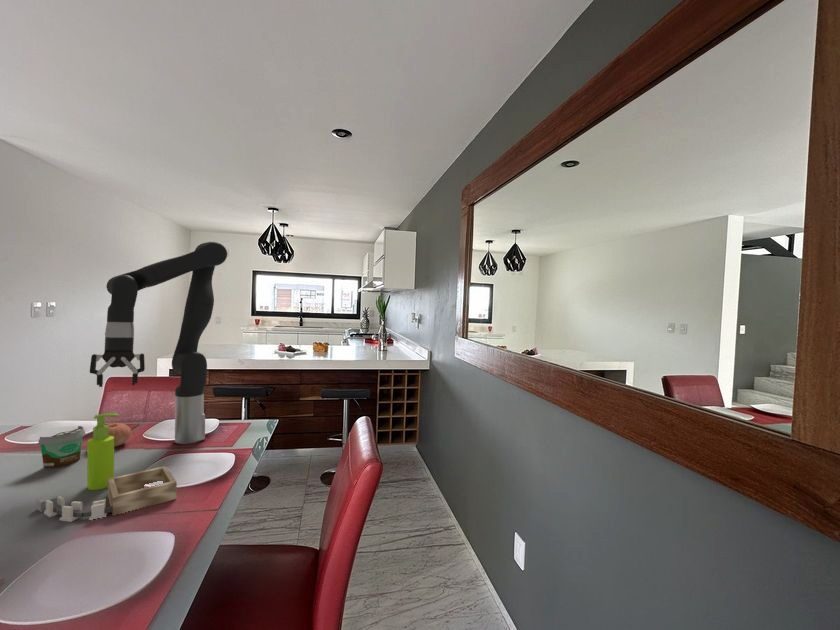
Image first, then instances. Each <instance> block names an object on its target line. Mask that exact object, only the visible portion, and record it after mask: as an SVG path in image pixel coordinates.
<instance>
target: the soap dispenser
mask: <svg viewBox="0 0 840 630" xmlns="http://www.w3.org/2000/svg"><path fill="white" fill-rule="evenodd" d="M119 415H120V413H115V412H108V413H107V412H105V413H100V414H95V415H94V416H93V419H96V425H95V426H94V427H92V438H89V439H88V440H87V442H86V443H87V444H86V446H87V448H86V449H87V452H86V454H87V456H86V457H87V458H86V459H87V461H86V464H87V467H86V468H87V475H86V477H87V479H86V480H87V481H86V483H87V484H86V486H87V490H89V491H97V490H103V489H106V488H107V489H108V479H109V478H113V477H115V447H114V437H113V436H109V426H108V425H107V424H106V418H117V417H118V416H119Z"/></svg>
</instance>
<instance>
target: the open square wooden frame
mask: <svg viewBox="0 0 840 630" xmlns="http://www.w3.org/2000/svg"><path fill="white" fill-rule="evenodd" d="M157 481H163V484H159V485H155V486H151V487H147V488H144V485H145V484H149V483H153V482H157ZM141 488H143V489H141ZM138 489H139V490H138ZM177 489H178V483H177V480H176V479H175V477H174V476H173V474H172V472H171V471H170V469H169V468H168V466H167V465H163V466H160V467H153V468H151V469H146V470H145V469H144V470H141V471H136V472H132V473H127V474H124V475H119V476H114V477H113V478H109V479H108V487H107V499H108V502H109V506H112V512H111V514H112V516H113V515H115V516H117V515H116V514H119V515H121V513H122V514H125V512H126V513H129V512H128V511H130V512H133V511H136V510H135V509H137V510H140V508H141V509H144V508H148V507H150V506H154V505H155V506H156V505H159V504H163V503H166V502H170V501H173V500H177V494H178V491H177ZM147 506H148V507H147ZM143 507H144V508H143ZM132 510H133V511H132Z"/></svg>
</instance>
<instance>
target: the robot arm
mask: <svg viewBox="0 0 840 630" xmlns="http://www.w3.org/2000/svg"><path fill="white" fill-rule="evenodd" d="M227 257H228V251H227V248H226V247H225V246H224V245H223V244H222V243H221V242H218V241H206V242H203V243H200V244H199V245H198V246H196V248H195V249H194V251H191V252H189V253H186V254H184V255H183V254H182V255H180V256H176V257H172V258H168V259H167V258H166V259H163V260H161V261H157V262H155V263H152V264H148V265H146V266H143V267H141V268H138V269H135V270H134V271H133V270H132V271H129V272H126V273H122V274H119V275H115V276H113V277H111V278H109V279H108V281H107V283H106V287H105V288H106V289H107V292H108V293H109V294H110V295H111V297H110V298H111V300H110V305H109V306H108V307H107V311H106V312H107V315H106V327H105V332H104V336H105V337H104V353H103V354H96V353H93V354H92V355H91V357H90V365H89V374H93V375H96V385H97V386H98V387H99V388H102V387H103V384H104V383H103V382H104V374H103V373H104V372H105V371H106V370H107V369H108V368H109V367H110V368H125V367H126V368H128V369H129V370H130V371H131V372H132V379H131V385H132V386H136V384H138V378H139V373H143V372H145V364H146V363H145V353H138V354H137V353H134V344H135V343H134V341H135V325H134V321H135V320H134V319H135V318H134V317H135V306H136V303H137V298H138V291H141V290H144V289H147V288H151V287H155V286H157V285H160V284H163V283H166V282H167V281H170V280H174V279H175V278H178V277H181V276H182V275H185V274H188V273H190V272H192V273H191V278H190V279H191V280H190V283H189V288H188V292H187V296H186V300H185V301H186V302H185V304H184V305H185V306H184V312H183V317H182V322H181V327H180V331H179V332H180V333H179V337H178V340H177V343H176V347H175V349H174V352H173V355H172V359H171V369H172V370H173V371H174V372H175V374H177V375H180V384H179V385H178V386H176V387H175V391H174V397H175V398H174V443H176V444H179V445H189V444H195V443H197V442H201V441H203V440H205V439H206V414H205V412H204V408H205V407H204V406H205V405H204V403H205V401H204V400H205V396H204V395H205V394H204V393H205V388H206V385H207V377H208V376H207V373H208V362H207V358H206V356H205V355H204V354H203V353H201V352H198V347H199V342H200V338H201V336H202V334H203V332H204V331H206V328H207V326H208V324H209V323H210V321H211V319H212V316H213V315H212V314H213V310H214V303H215V300H214V299H215V298H214V297H215V296H214V290H213V282H212V281H213V275H214V273H215V268H216V267H217V266H220V265H221V264H224V263H225V262H226V260H227ZM135 358H136V360H137V361H139V368H137V367H136V366H135V365H134V363H132V361H133V360H134V359H135ZM101 359H102V360H104V363H105V364H104V365H102V366H101V368H100V369H96V367H97V363H98V362H99V361H100V360H101Z"/></svg>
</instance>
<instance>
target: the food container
mask: <svg viewBox="0 0 840 630" xmlns="http://www.w3.org/2000/svg"><path fill="white" fill-rule="evenodd" d="M85 435H86V430H85V428H84V427H83V426H81V425H78V427H77V428H75V429H72V430H68V431H62V432H59V433H56V434H54V435H52V436H39V439H38V442H37V445H40V450H41V458H42V466H43V469H56V468H57V469H58V468H62V467H67V466H71V465H74V464H76V463H78V462H79V461H80V460H81V454H82V445H83V443H82V442H83V437H84V436H85Z"/></svg>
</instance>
